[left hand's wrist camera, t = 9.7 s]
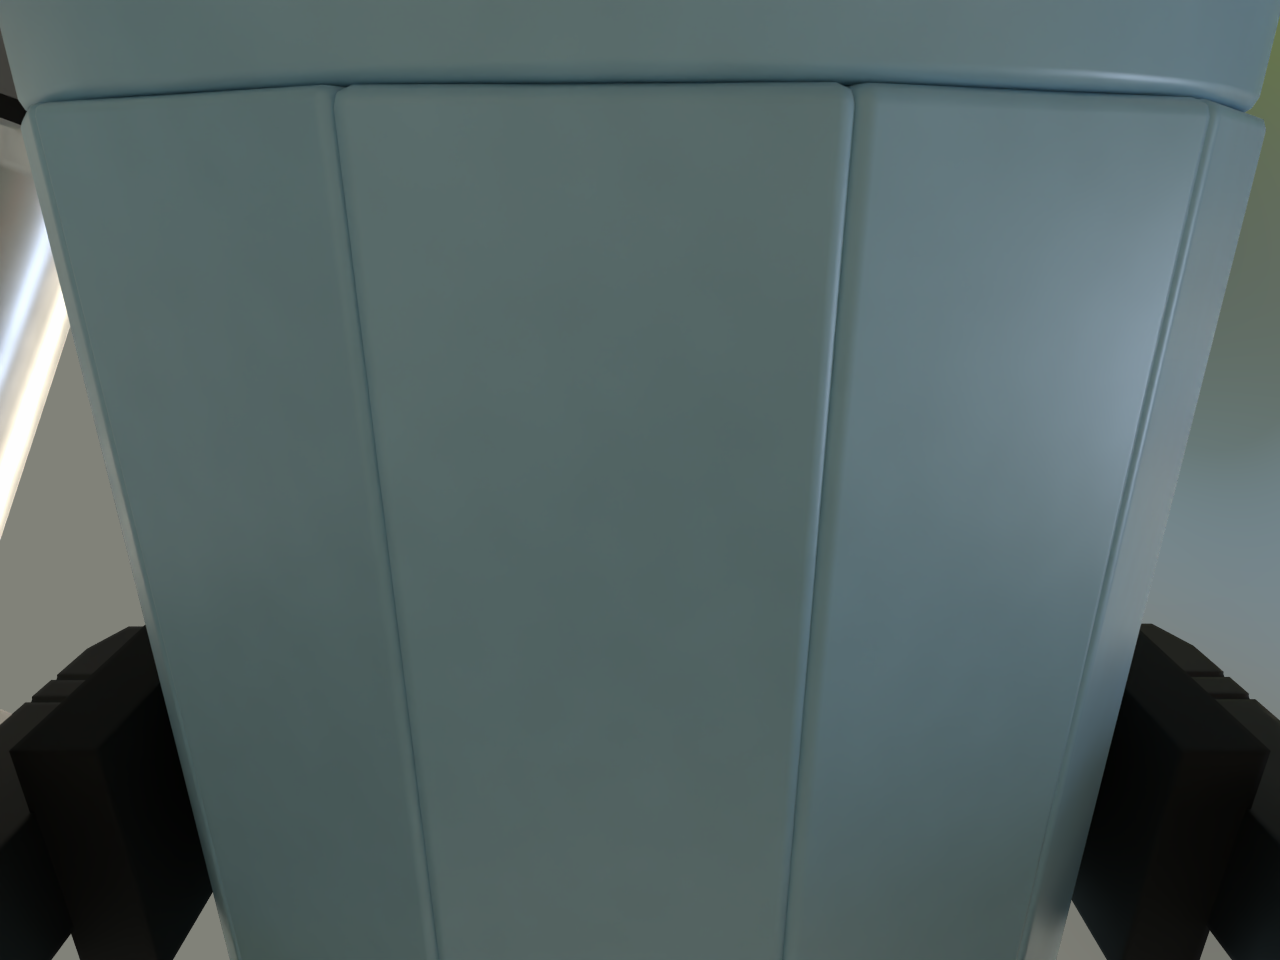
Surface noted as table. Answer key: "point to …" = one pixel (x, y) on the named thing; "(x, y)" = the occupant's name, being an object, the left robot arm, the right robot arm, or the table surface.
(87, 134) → the beaker
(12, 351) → the right robot arm
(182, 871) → the left robot arm
